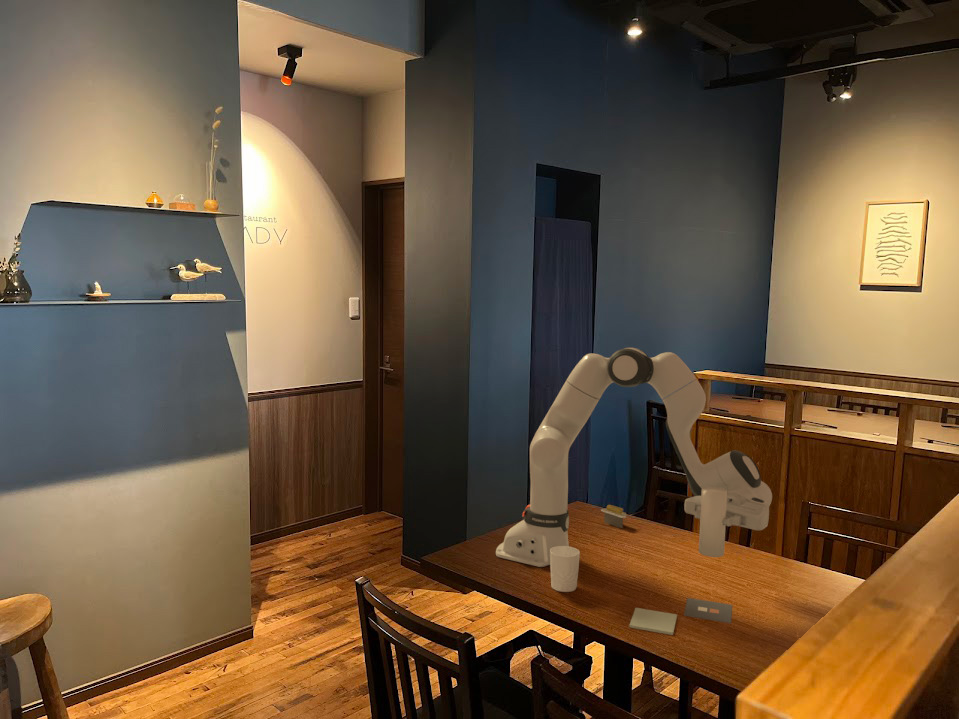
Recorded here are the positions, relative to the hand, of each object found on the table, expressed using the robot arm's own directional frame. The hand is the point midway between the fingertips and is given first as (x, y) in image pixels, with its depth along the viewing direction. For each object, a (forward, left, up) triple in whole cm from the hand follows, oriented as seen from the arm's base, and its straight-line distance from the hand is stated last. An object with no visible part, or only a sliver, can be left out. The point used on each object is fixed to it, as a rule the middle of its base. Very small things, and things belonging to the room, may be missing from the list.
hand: (711, 519), depth 177 cm
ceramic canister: (0, +1, -9) cm, 9 cm away
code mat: (0, +1, -24) cm, 24 cm away
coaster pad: (-12, -11, -24) cm, 29 cm away
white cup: (-37, +1, -24) cm, 44 cm away
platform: (-33, +58, -24) cm, 71 cm away
